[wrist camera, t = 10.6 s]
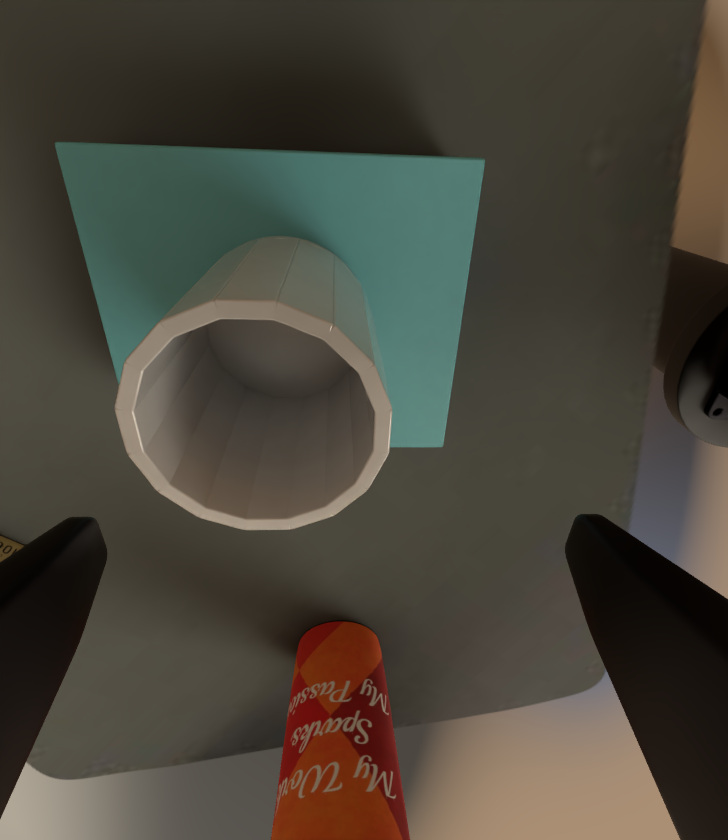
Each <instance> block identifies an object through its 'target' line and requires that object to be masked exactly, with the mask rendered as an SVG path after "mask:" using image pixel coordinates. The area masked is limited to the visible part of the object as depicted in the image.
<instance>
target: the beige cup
mask: <svg viewBox="0 0 728 840" xmlns="http://www.w3.org/2000/svg"><path fill="white" fill-rule="evenodd" d="M115 413H116V416H117V420H118V423H119V427H120V431H121V434H122V438H123V441H124V445H125V449H126V452H127V453H128V456H129V457H130V458H131V460H132V461H133V462H134V463H135V465H136V466H137V467H138V468H139V470H140V471H141V472H142V473H143V475H144V476H145V477H146V478H147V480H148V481H149V482H150V483H151V485H152V486H153V487H154V488H155V490H157V491H158V492H159V493H160V494H162V495H163V496H165V497H167V498H168V499H170V500H171V501H173V502H174V503H176V504H178V505H179V506H181V507H182V508H184V509H186V510H187V511H189V512H190V513H192V514H193V515H195V516H197V517H198V516H199V518H202V519H206V520H209V521H213V522H216V523H220V524H224V525H227V526H231V527H235V528H238V529H242V530H244V529H245V530H290V529H294V528H298V527H301V526H304V525H307V524H310V523H313V522H316V521H320V520H323V519H326V518H329V517H332V516H333V515H335V514H337V513H338V512H339V511H341V510H342V509H343V508H345V507H346V506H347V505H349V504H350V503H351V502H353V501H354V500H355V499H357V498H358V497H359V496H361V495H362V494H363V493H365V492H366V491H367V489H369V487H370V485H371V484H372V482H373V480H374V478H375V477H376V475H377V473H378V471H379V470H380V468H381V466H382V465H383V463H384V461H385V459H386V458H387V456H388V453H389V449H390V436H391V423H392V405H391V401H390V396H389V391H388V386H387V382H386V377H385V372H384V367H383V362H382V358H381V353H380V348H379V343H378V339H377V334H376V329H375V324H374V320H373V315H372V312H371V309H370V307H369V304H368V300H367V297H366V294H365V292H364V290H363V288H362V285H361V284H360V282H359V280H358V279H357V277H356V276H355V274H354V273H353V272H352V271H351V269H350V268H349V267H348V266H347V265H346V264H345V263H344V262H343V261H342V260H341V259H340V258H339V257H337V256H336V255H335V254H333V253H332V252H330V251H329V250H327V249H326V248H324V247H322V246H320V245H318V244H316V243H313V242H310V241H308V240H305V239H300V238H296V237H289V236H268V237H262V238H257V239H254V240H251V241H248V242H245V243H243V244H241V245H239V246H237V247H235V248H234V249H233V250H231V251H228V252H227V253H225V254H224V255H223V256H222V257H221V258H220V259H219V260H218V261H217V262H216V263H215V264H214V265H213V266H212V267H211V268H210V269H209V270H208V271H207V272H206V273H205V274H204V275H203V277H202V278H201V279H200V280H199V281H198V282H197V283H196V284H195V285H194V286H193V287H192V288H191V289H190V290H189V291H188V292H187V293H186V294H185V295H184V296H183V297H182V298H181V299H180V300H179V301H178V302H177V303H176V304H175V305H174V306H173V307H172V308H171V309H170V310H169V311H168V312H167V313H166V314H165V315H164V317H163V318H162V319H161V320H160V321H159V322H158V323H157V324H156V325H155V326H154V327H153V328H152V330H151V331H150V332H149V333H148V334H147V335H146V336H145V337H144V339H143V340H142V341H141V342H140V343H139V344H138V345H137V347H136V348H135V349H134V350H133V351H132V352H131V353H130V355H129V356H128V357H127V358H126V360H125V362H124V364H123V369H122V374H121V378H120V383H119V388H118V392H117V397H116V402H115Z"/></svg>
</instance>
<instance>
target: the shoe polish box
mask: <svg viewBox="0 0 728 840" xmlns="http://www.w3.org/2000/svg"><path fill="white" fill-rule="evenodd" d="M22 547H24V545H21V544H19V543H17V542H14V541H12V540H10V539H7V538H5V537H2V536H0V562H1V561H2V560H4V559H6V558H7V557H9V556H10V555H12V554H13V553H15V552H16V551H18V550H19V549H21V548H22Z"/></svg>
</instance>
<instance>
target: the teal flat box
mask: <svg viewBox="0 0 728 840" xmlns="http://www.w3.org/2000/svg"><path fill="white" fill-rule="evenodd" d="M55 148H56V152H57V155H58V159H59V163H60V167H61V170H62V174H63V178H64V182H65V185H66V189H67V193H68V197H69V200H70V204H71V208H72V212H73V215H74V219H75V223H76V227H77V230H78V234H79V238H80V242H81V246H82V249H83V253H84V257H85V261H86V264H87V268H88V272H89V276H90V279H91V283H92V287H93V291H94V294H95V298H96V302H97V306H98V309H99V313H100V317H101V321H102V324H103V328H104V332H105V336H106V339H107V343H108V347H109V351H110V354H111V358H112V362H113V366H114V369H115V373H116V377H117V381H118V384H119V383H120V378H121V374H122V369H123V364H124V362H125V360H126V358H127V357H128V356H129V355H130V353H131V352H132V351H133V350H134V349H135V348H136V347H137V345H138V344H139V343H140V342H141V341H142V340H143V339H144V337H145V336H146V335H147V334H148V333H149V332H150V331H151V330H152V328H153V327H154V326H155V325H156V324H157V323H158V322H159V321H160V320H161V319H162V318H163V317H164V315H165V314H166V313H167V312H168V311H169V310H170V309H171V308H172V307H173V306H174V305H175V304H176V303H177V302H178V301H179V300H180V299H181V298H182V297H183V296H184V295H185V294H186V293H187V292H188V291H189V290H190V289H191V288H192V287H193V286H194V285H195V284H196V283H197V282H198V281H199V280H200V279H201V278H202V277H203V275H204V274H205V273H206V272H207V271H208V270H209V269H210V268H211V267H212V266H213V265H214V264H215V263H216V262H217V261H218V260H219V259H220V258H221V257H222V256H223V255H224V254H225V253H227V252H228V251H231V250H233V249H234V248H235V247H237V246H239V245H241V244H243V243H245V242H248V241H251V240H254V239H257V238H262V237H268V236H289V237H296V238H300V239H305V240H308V241H310V242H313V243H316V244H318V245H320V246H322V247H324V248H326V249H327V250H329V251H330V252H332V253H333V254H335V255H336V256H337V257H339V258H340V259H341V260H342V261H343V262H344V263H345V264H346V265H347V266H348V267H349V268H350V269H351V271H352V272H353V273H354V274H355V276H356V277H357V279H358V280H359V282H360V284H361V285H362V288H363V290H364V292H365V294H366V297H367V300H368V304H369V307H370V309H371V312H372V315H373V320H374V324H375V329H376V334H377V339H378V343H379V348H380V353H381V358H382V362H383V367H384V372H385V377H386V382H387V386H388V391H389V396H390V401H391V405H392V423H391V436H390V447H443V443H444V436H445V430H446V423H447V416H448V409H449V402H450V396H451V389H452V382H453V375H454V369H455V362H456V355H457V348H458V341H459V335H460V328H461V321H462V314H463V308H464V301H465V294H466V287H467V281H468V274H469V267H470V260H471V253H472V247H473V240H474V233H475V226H476V220H477V213H478V206H479V199H480V193H481V186H482V179H483V172H484V165H485V159H484V158H477V157H451V156H425V155H399V154H373V153H347V152H321V151H295V150H269V149H243V148H217V147H191V146H165V145H139V144H113V143H87V142H56V143H55Z"/></svg>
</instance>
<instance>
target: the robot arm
mask: <svg viewBox="0 0 728 840" xmlns="http://www.w3.org/2000/svg"><path fill="white" fill-rule="evenodd" d="M715 409H716V410H715ZM714 410H715V411H714ZM704 414H705V415H706V416H708V417H709V418H710V419H719V420H728V360H727V362H726V364H725V366H724V368H723V370H722V372H721V374H720V377H719V379H718V381H717V383H716V385H715V387H714V389H713V391H712V393H711V396H710V398H709V400H708V402H707V404H706V406H705V408H704ZM565 554H566V559H567V562H568V565H569V568H570V571H571V574H572V577H573V581H574V584H575V587H576V590H577V593H578V596H579V599H580V603H581V606H582V609H583V612H584V615H585V618H586V621H587V624H588V627H589V630H590V633H591V635H592V637H593V640H594V642H595V645H596V647H597V649H598V652H599V654H600V656H601V658H602V661H603V663H604V665H605V668H606V670H607V672H608V675H609V677H610V679H611V681H612V684H613V686H614V688H615V691H616V693H617V695H618V697H619V700H620V702H621V704H622V707H623V709H624V711H625V713H626V716H627V718H628V720H629V723H630V725H631V727H632V729H633V732H634V734H635V737H636V739H637V741H638V743H639V746H640V748H641V750H642V753H643V755H644V757H645V759H646V762H647V764H648V766H649V769H650V771H651V773H652V776H653V778H654V780H655V782H656V785H657V787H658V789H659V792H660V794H661V796H662V798H663V801H664V803H665V805H666V808H667V810H668V812H669V814H670V817H671V819H672V821H673V824H674V826H675V828H676V830H677V833H678V835H679V838H680V839H681V840H728V599H727V598H725V597H724V596H722V595H721V594H719V593H718V592H716V591H715V590H713V589H712V588H710V587H708V586H707V585H706V584H704V583H703V582H701V581H700V580H698V579H697V578H695V577H694V576H692V575H691V574H689V573H688V572H686V571H685V570H683V569H682V568H680V567H679V566H677V565H675V564H674V563H672V562H671V561H669V560H668V559H666V558H665V557H663V556H662V555H661V554H659V553H657V552H656V551H655V550H653V549H651V548H650V547H648V546H647V545H645V544H644V543H642V542H641V541H639V540H638V539H636V538H635V537H633V536H632V535H630V534H629V533H627V532H626V531H624V530H623V529H621V528H620V527H618V526H617V525H615V524H614V523H612V522H611V521H609V520H608V519H606V518H605V517H603V516H602V515H599V514H580V515H578V516H577V517H576V518H575V520H574V522H573V525H572V528H571V531H570V533H569V536H568V539H567V542H566V545H565ZM106 561H107V548H106V545H105V542H104V539H103V536H102V533H101V530H100V527H99V525H98V522H97V520H96V519H95V518H93V517H70V518H67V519H66V520H64V521H62V522H61V523H59V524H58V525H56V526H55V527H53V528H52V529H50V530H49V531H47V532H46V533H44V534H42V535H41V536H39V537H38V538H36V539H35V540H33V541H32V542H30V543H29V544H27V545H26V546H24V547H22V548H21V549H19V550H18V551H16V552H15V553H13V554H12V555H10V556H9V557H7V558H6V559H4V560H2V561H1V562H0V818H1V816H2V814H3V812H4V809H5V807H6V805H7V803H8V800H9V798H10V796H11V794H12V792H13V789H14V787H15V785H16V782H17V780H18V778H19V776H20V774H21V772H22V769H23V767H24V765H25V763H26V761H27V758H28V756H29V754H30V752H31V749H32V747H33V745H34V743H35V741H36V738H37V736H38V734H39V732H40V729H41V727H42V725H43V723H44V721H45V718H46V716H47V714H48V712H49V710H50V707H51V705H52V703H53V701H54V698H55V696H56V694H57V692H58V690H59V687H60V685H61V683H62V681H63V678H64V676H65V674H66V672H67V670H68V667H69V665H70V663H71V661H72V658H73V656H74V654H75V652H76V649H77V647H78V644H79V642H80V639H81V637H82V634H83V631H84V628H85V625H86V622H87V619H88V616H89V613H90V610H91V607H92V604H93V601H94V598H95V595H96V592H97V589H98V586H99V582H100V579H101V576H102V573H103V570H104V567H105V564H106Z"/></svg>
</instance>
